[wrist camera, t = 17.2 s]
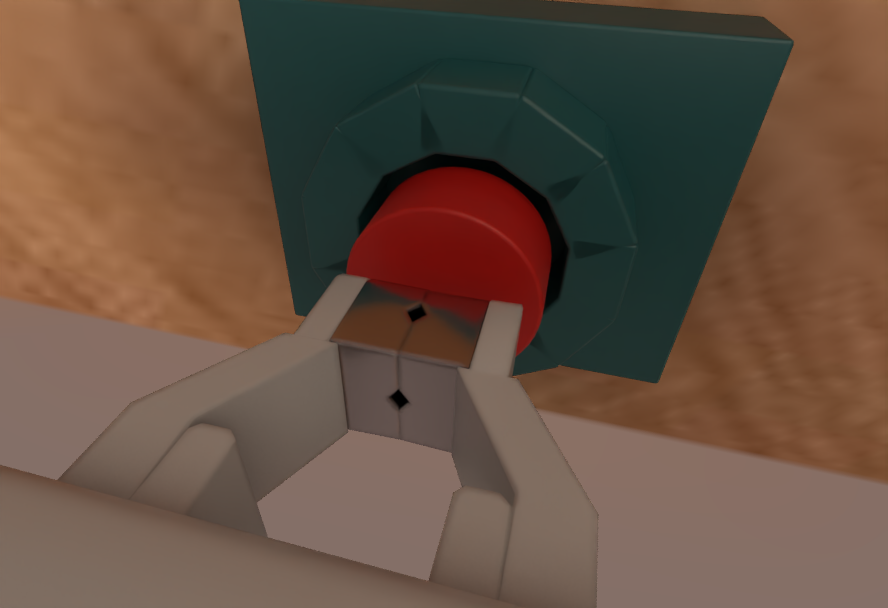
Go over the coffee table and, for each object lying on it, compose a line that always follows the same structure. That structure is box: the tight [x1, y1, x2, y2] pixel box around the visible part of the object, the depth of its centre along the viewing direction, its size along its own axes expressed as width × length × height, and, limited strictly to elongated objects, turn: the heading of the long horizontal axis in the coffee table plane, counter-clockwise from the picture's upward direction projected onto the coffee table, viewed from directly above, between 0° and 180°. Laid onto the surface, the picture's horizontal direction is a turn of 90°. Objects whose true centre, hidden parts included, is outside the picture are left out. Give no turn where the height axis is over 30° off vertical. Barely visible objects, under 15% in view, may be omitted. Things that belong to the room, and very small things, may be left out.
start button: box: [346, 167, 552, 356], centre depth 10 cm, size 4×4×2 cm
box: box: [239, 0, 794, 383], centre depth 12 cm, size 10×8×4 cm
